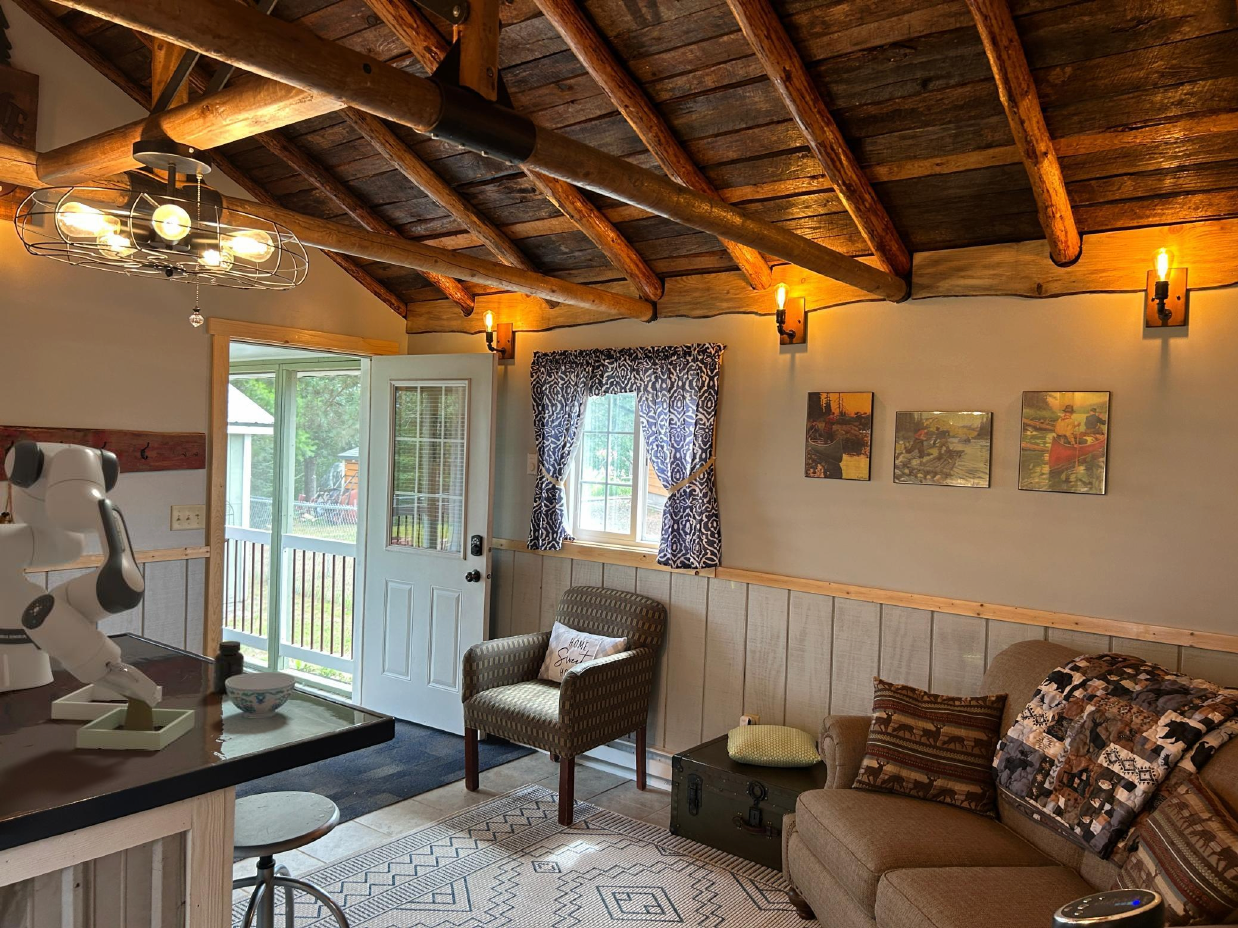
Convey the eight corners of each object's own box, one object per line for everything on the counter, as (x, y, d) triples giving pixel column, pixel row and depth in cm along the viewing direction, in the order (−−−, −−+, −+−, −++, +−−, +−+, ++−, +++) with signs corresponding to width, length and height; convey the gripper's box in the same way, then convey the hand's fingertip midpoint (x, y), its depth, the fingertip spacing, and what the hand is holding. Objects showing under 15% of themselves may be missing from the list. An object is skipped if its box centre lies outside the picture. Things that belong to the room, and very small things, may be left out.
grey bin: (51, 718, 194) (52, 702, 194) (91, 698, 210) (92, 683, 210) (127, 721, 195) (128, 704, 195) (161, 701, 211) (162, 686, 211)
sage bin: (76, 747, 177) (77, 729, 177) (117, 723, 193) (118, 707, 193) (159, 750, 178) (160, 732, 178) (194, 726, 194) (194, 710, 194)
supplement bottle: (205, 692, 221) (208, 643, 221) (227, 686, 227) (229, 638, 227) (227, 696, 218) (229, 646, 218) (248, 690, 225) (251, 641, 224)
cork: (140, 742, 182) (143, 688, 182) (114, 739, 183) (117, 685, 183) (161, 734, 188) (164, 681, 188) (135, 731, 189) (138, 678, 189)
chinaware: (272, 701, 216) (274, 669, 216) (307, 714, 206) (309, 681, 206) (210, 712, 204) (212, 678, 204) (244, 727, 195) (246, 692, 195)
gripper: (136, 654, 174) (181, 695, 182) (80, 639, 185) (125, 678, 193) (111, 682, 170) (159, 722, 178) (56, 664, 181) (103, 703, 189)
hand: (141, 699), depth 186 cm, fingers open, 8 cm apart
